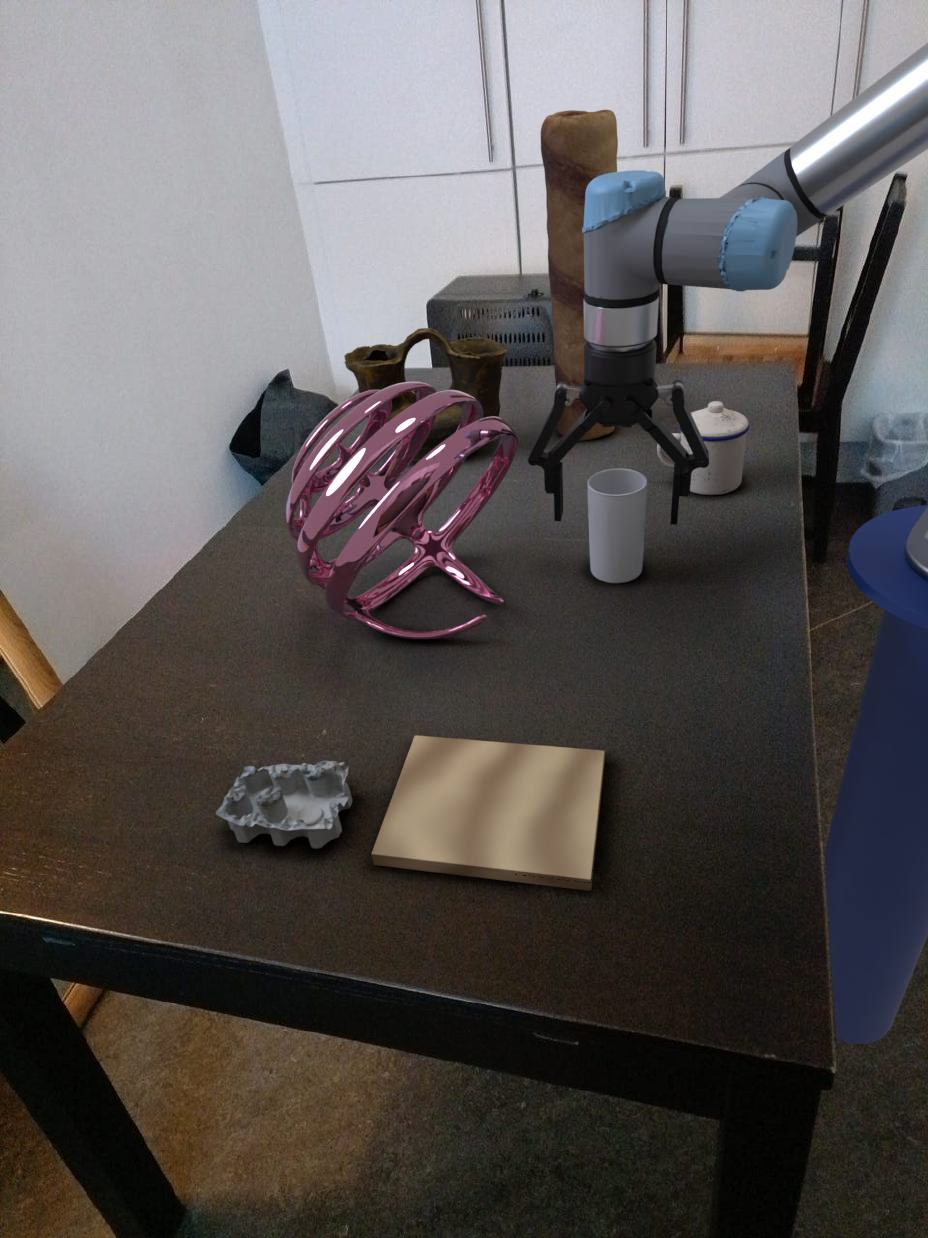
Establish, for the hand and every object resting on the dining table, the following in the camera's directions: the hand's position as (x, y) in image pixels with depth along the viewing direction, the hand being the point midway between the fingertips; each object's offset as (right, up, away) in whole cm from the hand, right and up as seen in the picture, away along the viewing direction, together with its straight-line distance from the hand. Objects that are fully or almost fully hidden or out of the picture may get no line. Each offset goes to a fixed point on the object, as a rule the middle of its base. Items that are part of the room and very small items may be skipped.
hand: (615, 517), depth 98 cm
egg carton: (-34, -30, -25) cm, 51 cm away
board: (-15, -29, -27) cm, 42 cm away
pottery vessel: (-22, +15, +36) cm, 45 cm away
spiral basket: (-24, -10, +1) cm, 26 cm away
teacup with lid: (+15, +7, +18) cm, 25 cm away
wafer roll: (+2, +19, +37) cm, 42 cm away
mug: (+1, -5, +4) cm, 7 cm away
